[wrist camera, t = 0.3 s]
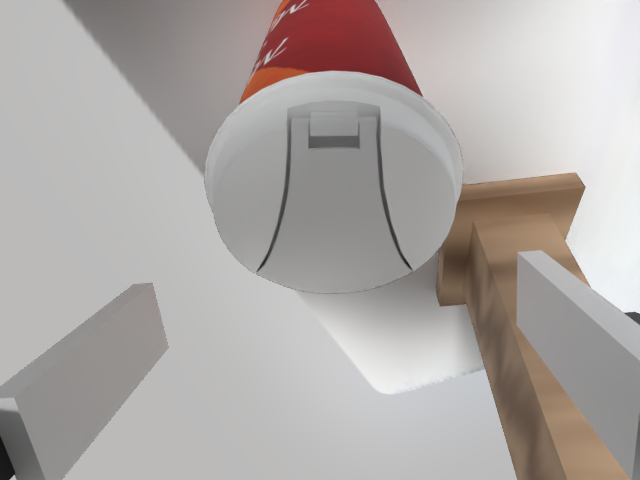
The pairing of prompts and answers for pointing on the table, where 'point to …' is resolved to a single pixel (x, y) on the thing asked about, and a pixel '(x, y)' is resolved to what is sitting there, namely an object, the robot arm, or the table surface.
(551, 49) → the table surface
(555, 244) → the stand
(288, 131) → the paper cup
